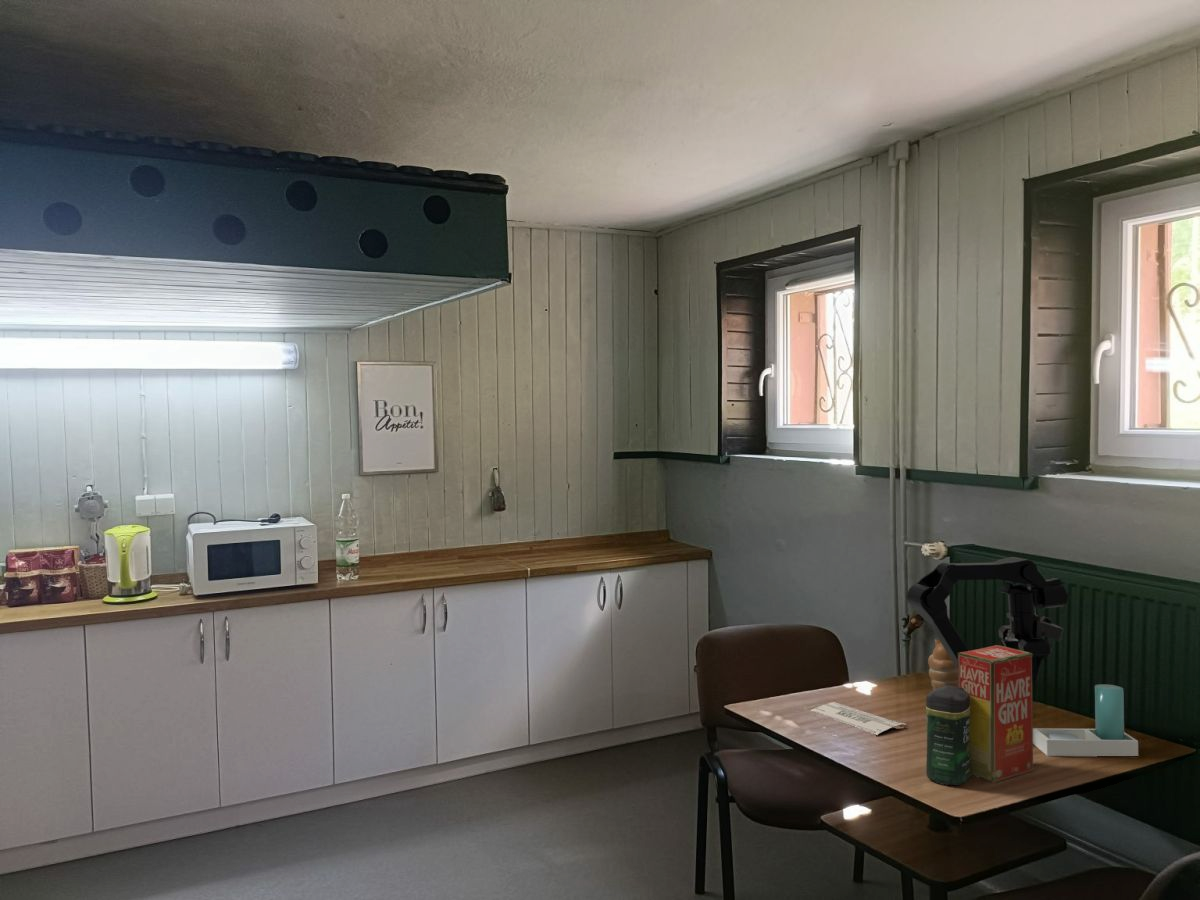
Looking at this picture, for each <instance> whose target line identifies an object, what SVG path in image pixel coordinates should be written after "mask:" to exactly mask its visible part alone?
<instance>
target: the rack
mask: <svg viewBox="0 0 1200 900" xmlns="http://www.w3.org/2000/svg"><path fill="white" fill-rule="evenodd" d="M1033 746H1036V748H1037V749H1038V750H1039V751H1040V752H1042V753H1043V754H1045V756H1047V757H1097V756H1138V757H1139V740H1137V739H1136V738H1134V737H1133V736H1131V735H1130V734H1128V733H1126V732H1125V731H1124V740H1102V739H1100V738H1099V737H1098V736H1096V728H1059V727H1058V728H1056V727H1055V728H1052V727H1051V728H1047V727H1045V728H1044V727H1039V728H1038V727H1033Z"/></svg>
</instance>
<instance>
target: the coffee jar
mask: <svg viewBox="0 0 1200 900" xmlns="http://www.w3.org/2000/svg"><path fill="white" fill-rule="evenodd" d="M925 709H926V710H925V711H926V763H925V764H926V768H925V769H926V771H925V772H926V777H927V778H928V779H930V780H932V781H934V782H935V783H937V784H940V785H944V784H945V786H948V785H952V786H954V785H956V786H961V785H963V784H964V783H966V782H967V781H968V780H969V779H970V777H971V775H972V774H971V762H970V695H969V694H968V693H967V692H966V691H965V690H964V689H963V688H960V687H954V686H948V685H944V686H943V687H940V688H937V689H935V690H934V689H933V690H931V691H930V692H928V694H926V699H925Z"/></svg>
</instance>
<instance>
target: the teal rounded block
mask: <svg viewBox="0 0 1200 900" xmlns="http://www.w3.org/2000/svg"><path fill="white" fill-rule="evenodd" d="M1124 696H1125V695H1124V688H1123V687H1121V686H1119V685H1114V684H1107V683H1106V684H1102V683H1100V684H1095V685H1094V707H1095V708H1094V716H1095V717H1094V718H1095V719H1094V720H1095V729H1096V736H1098V737H1099V738H1100V739H1102V740H1124V732H1125V714H1124V713H1125V710H1124V708H1125V705H1124V704H1125V703H1124Z"/></svg>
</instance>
